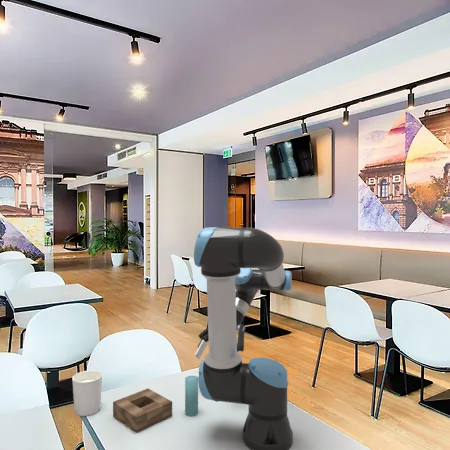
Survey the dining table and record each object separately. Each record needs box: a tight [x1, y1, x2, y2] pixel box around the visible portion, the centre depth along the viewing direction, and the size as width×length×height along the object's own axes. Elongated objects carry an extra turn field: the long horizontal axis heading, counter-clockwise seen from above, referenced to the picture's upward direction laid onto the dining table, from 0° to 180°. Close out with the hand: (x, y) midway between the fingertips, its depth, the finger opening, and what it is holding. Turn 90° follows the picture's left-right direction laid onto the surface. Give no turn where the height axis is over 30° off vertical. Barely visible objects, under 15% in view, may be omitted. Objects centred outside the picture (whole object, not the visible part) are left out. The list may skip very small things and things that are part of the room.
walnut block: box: [112, 388, 173, 434], centre depth 130 cm, size 14×14×5 cm
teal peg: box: [184, 375, 199, 417], centre depth 133 cm, size 4×4×12 cm
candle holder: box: [71, 370, 103, 417], centre depth 134 cm, size 10×10×12 cm
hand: (210, 361), depth 140 cm, fingers open, 13 cm apart
